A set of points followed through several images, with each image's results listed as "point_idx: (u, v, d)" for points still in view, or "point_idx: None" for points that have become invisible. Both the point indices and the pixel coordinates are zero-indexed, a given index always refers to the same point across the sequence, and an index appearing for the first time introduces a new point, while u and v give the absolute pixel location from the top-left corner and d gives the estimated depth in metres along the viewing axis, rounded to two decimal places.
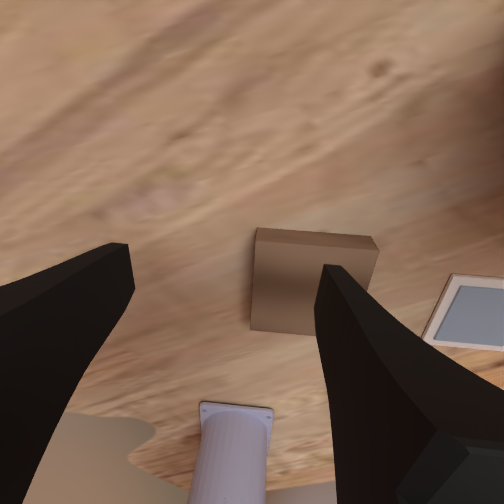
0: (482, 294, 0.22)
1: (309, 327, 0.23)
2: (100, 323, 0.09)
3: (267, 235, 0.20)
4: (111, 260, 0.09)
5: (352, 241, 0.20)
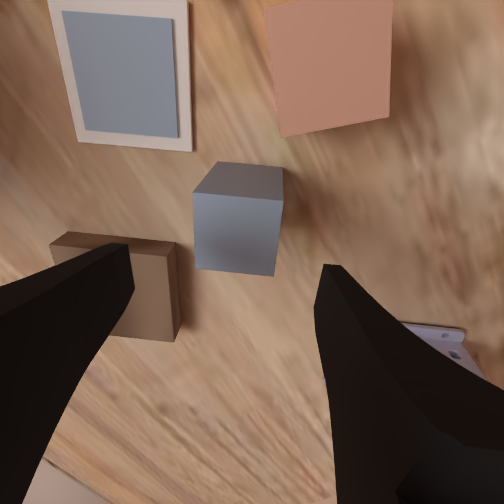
0: (87, 98, 0.16)
1: (158, 296, 0.21)
2: (100, 322, 0.09)
3: None
4: (111, 260, 0.09)
5: None
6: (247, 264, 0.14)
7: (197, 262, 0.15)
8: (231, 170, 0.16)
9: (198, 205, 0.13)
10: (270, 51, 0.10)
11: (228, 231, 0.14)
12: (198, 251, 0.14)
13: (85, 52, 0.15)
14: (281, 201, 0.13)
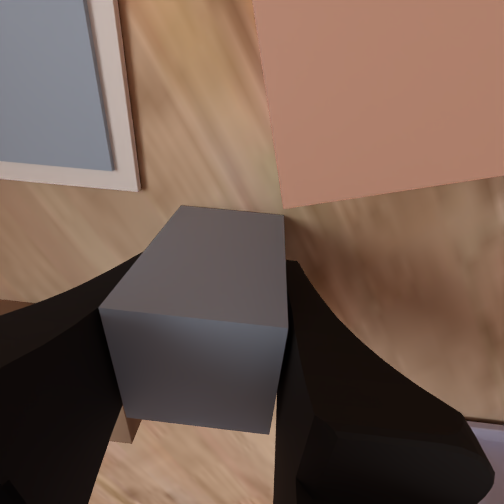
0: None
1: None
2: None
3: None
4: None
5: None
6: (220, 417, 0.08)
7: (128, 410, 0.08)
8: (198, 228, 0.10)
9: (114, 328, 0.06)
10: None
11: (180, 370, 0.07)
12: (127, 395, 0.08)
13: None
14: (283, 328, 0.06)
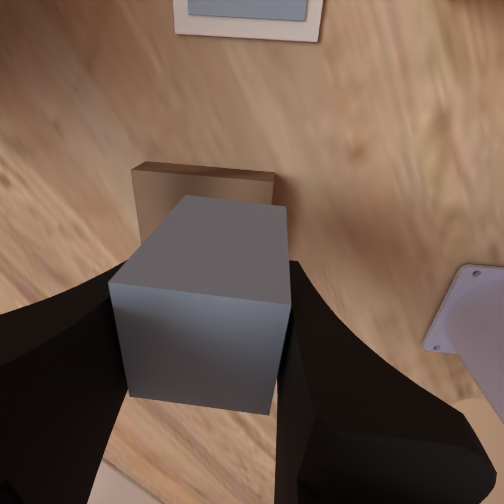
0: None
1: None
2: None
3: None
4: None
5: None
6: (221, 396, 0.08)
7: (132, 388, 0.08)
8: (203, 215, 0.10)
9: (122, 304, 0.07)
10: None
11: (184, 347, 0.07)
12: (132, 373, 0.08)
13: None
14: (286, 305, 0.06)
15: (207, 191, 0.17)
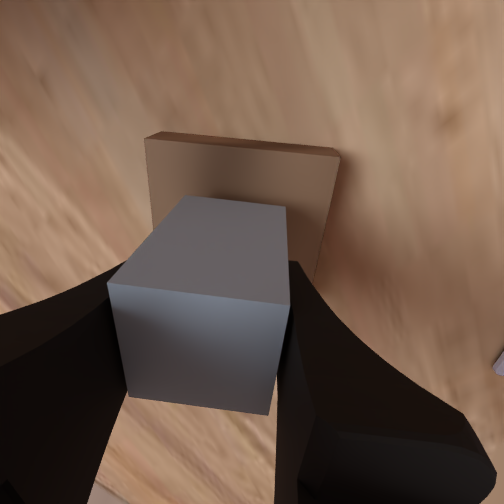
0: None
1: (305, 231, 0.13)
2: None
3: None
4: None
5: None
6: (220, 396, 0.08)
7: (131, 389, 0.08)
8: (202, 215, 0.10)
9: (121, 304, 0.07)
10: None
11: (183, 348, 0.07)
12: (131, 374, 0.08)
13: None
14: (285, 305, 0.06)
15: (247, 170, 0.12)
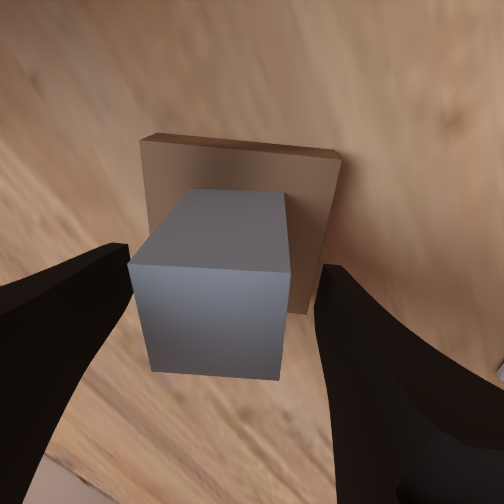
0: None
1: (305, 235, 0.13)
2: (100, 322, 0.09)
3: None
4: (111, 260, 0.09)
5: None
6: (234, 365, 0.09)
7: (153, 363, 0.09)
8: (206, 204, 0.11)
9: (140, 283, 0.07)
10: None
11: (199, 320, 0.08)
12: (152, 349, 0.09)
13: None
14: (286, 273, 0.07)
15: (245, 172, 0.12)
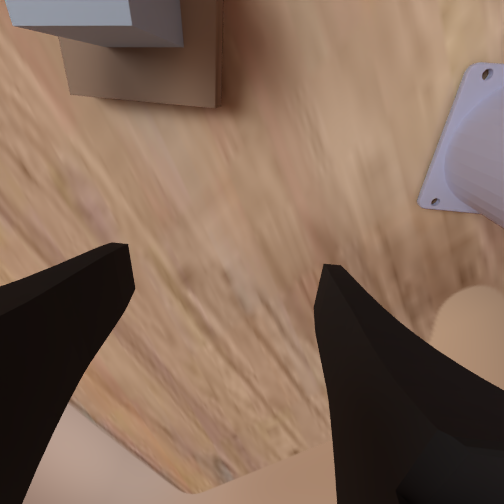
0: None
1: None
2: (100, 322, 0.09)
3: None
4: (111, 260, 0.09)
5: None
6: (86, 3, 0.09)
7: (12, 11, 0.09)
8: None
9: None
10: None
11: None
12: None
13: None
14: None
15: None
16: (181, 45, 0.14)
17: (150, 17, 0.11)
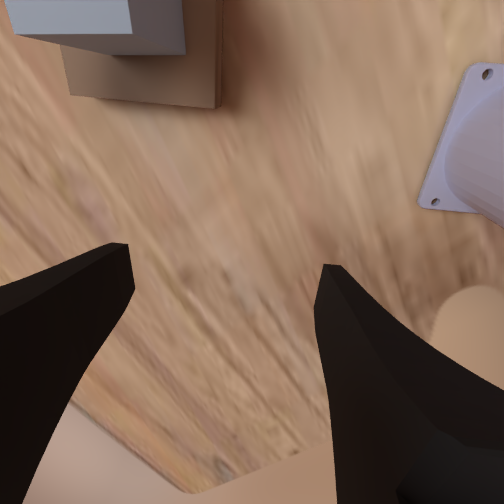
0: None
1: None
2: (100, 322, 0.09)
3: None
4: (111, 260, 0.09)
5: None
6: (86, 11, 0.09)
7: (13, 20, 0.09)
8: None
9: None
10: None
11: None
12: None
13: None
14: None
15: None
16: (183, 54, 0.14)
17: (152, 26, 0.11)
